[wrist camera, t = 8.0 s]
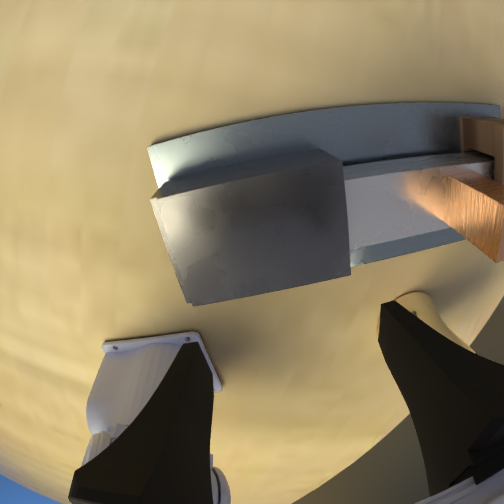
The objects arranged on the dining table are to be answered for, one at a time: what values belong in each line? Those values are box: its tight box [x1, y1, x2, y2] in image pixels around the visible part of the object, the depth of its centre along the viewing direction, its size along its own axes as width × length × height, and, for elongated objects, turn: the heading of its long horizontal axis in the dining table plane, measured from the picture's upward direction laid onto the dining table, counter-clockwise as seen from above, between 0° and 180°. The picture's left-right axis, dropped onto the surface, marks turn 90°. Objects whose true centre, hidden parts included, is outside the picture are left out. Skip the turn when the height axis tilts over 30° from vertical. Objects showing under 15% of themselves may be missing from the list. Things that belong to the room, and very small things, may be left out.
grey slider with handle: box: [343, 151, 504, 263], centre depth 14 cm, size 16×4×8 cm, turn 102°
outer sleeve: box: [147, 102, 500, 306], centre depth 17 cm, size 26×11×5 cm, turn 102°
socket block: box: [459, 117, 504, 185], centre depth 16 cm, size 4×9×5 cm, turn 12°
